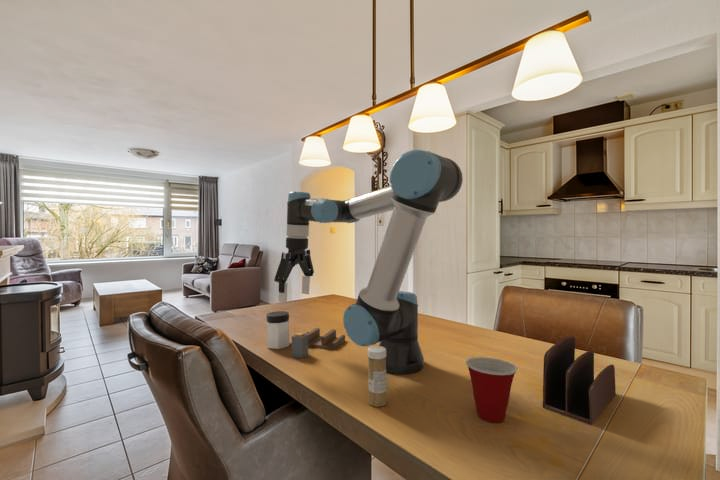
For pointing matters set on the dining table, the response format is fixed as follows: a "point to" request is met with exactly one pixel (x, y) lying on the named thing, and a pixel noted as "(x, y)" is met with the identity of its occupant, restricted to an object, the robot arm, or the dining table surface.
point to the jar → (277, 330)
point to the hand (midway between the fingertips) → (294, 297)
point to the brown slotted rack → (324, 339)
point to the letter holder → (575, 383)
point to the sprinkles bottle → (377, 375)
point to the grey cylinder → (300, 345)
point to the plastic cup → (491, 386)
